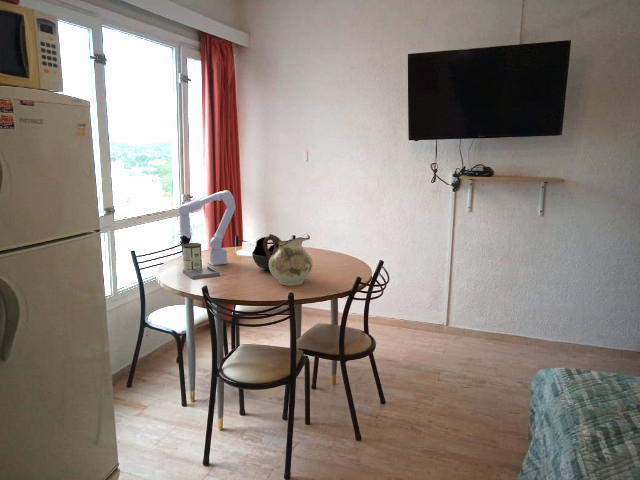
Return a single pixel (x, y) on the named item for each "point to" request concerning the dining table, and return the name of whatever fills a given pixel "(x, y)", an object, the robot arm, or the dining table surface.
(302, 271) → the pitcher
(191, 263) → the coffee can
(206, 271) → the tray
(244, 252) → the dish
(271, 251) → the bowl of black rocks
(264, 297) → the dining table surface
